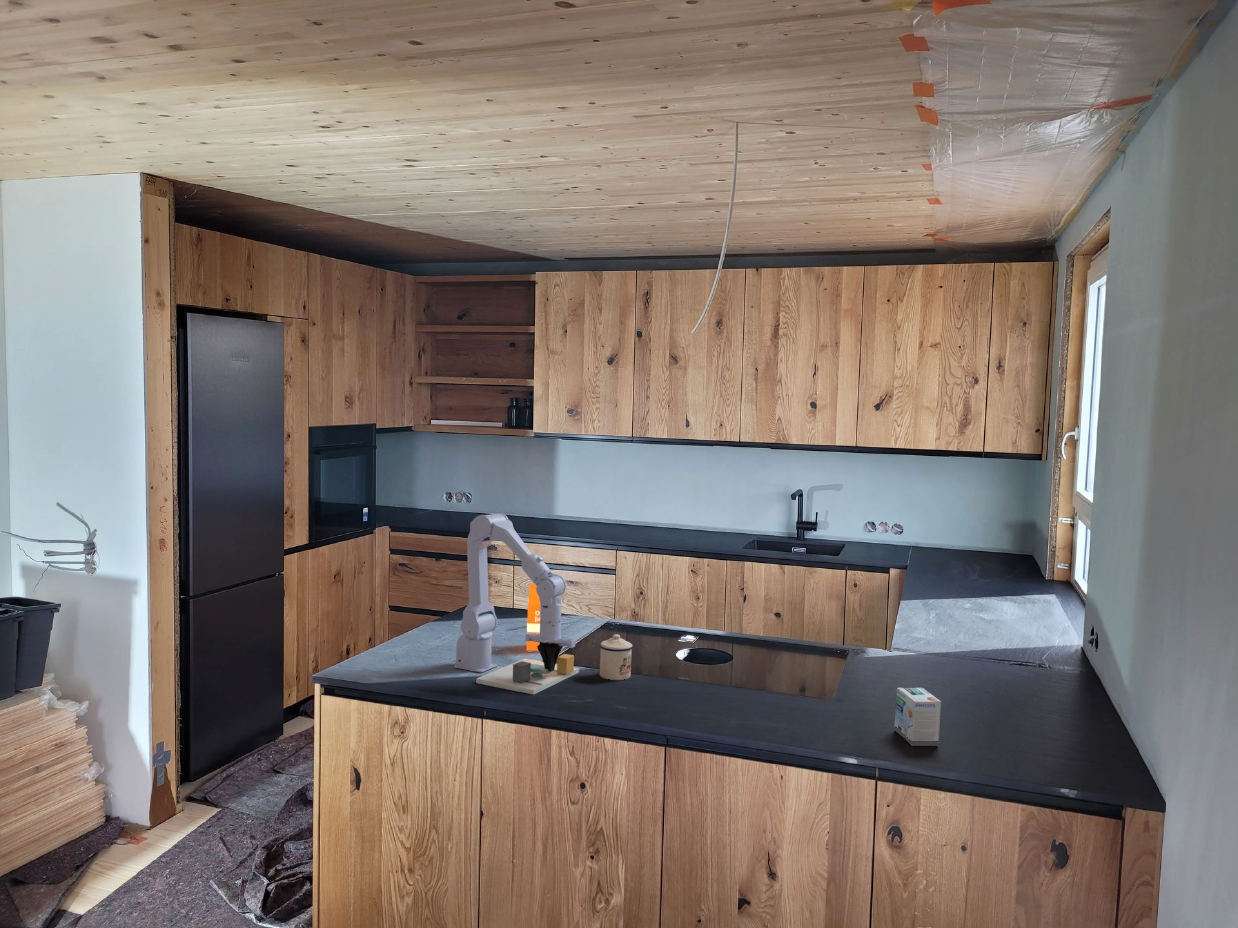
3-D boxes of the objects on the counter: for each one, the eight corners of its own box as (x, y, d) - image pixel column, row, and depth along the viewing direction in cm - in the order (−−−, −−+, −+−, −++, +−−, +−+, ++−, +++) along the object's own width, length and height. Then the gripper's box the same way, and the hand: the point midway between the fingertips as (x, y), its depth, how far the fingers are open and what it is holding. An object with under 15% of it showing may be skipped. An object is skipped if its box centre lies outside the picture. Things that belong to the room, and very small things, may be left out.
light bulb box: (893, 730, 220) (895, 686, 219) (920, 731, 220) (923, 686, 220) (911, 747, 209) (913, 700, 208) (939, 747, 210) (942, 701, 209)
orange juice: (555, 652, 279) (557, 587, 277) (526, 651, 279) (528, 586, 277) (557, 645, 286) (559, 582, 285) (529, 644, 286) (531, 581, 285)
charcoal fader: (512, 680, 243) (513, 664, 243) (520, 677, 247) (521, 661, 247) (522, 682, 242) (522, 666, 242) (530, 678, 246) (530, 662, 245)
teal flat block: (520, 670, 250) (520, 666, 250) (529, 666, 254) (529, 662, 253) (546, 674, 246) (546, 670, 246) (554, 670, 250) (554, 666, 250)
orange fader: (556, 672, 252) (557, 656, 252) (564, 669, 256) (564, 653, 256) (566, 674, 251) (566, 658, 251) (573, 671, 255) (574, 655, 254)
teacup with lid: (624, 682, 250) (626, 640, 250) (593, 677, 254) (595, 636, 253) (639, 671, 261) (641, 631, 261) (609, 667, 265) (611, 627, 264)
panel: (476, 682, 245) (476, 675, 245) (524, 662, 266) (525, 655, 266) (533, 694, 237) (533, 686, 237) (578, 672, 258) (579, 664, 258)
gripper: (519, 620, 247) (518, 670, 248) (566, 626, 241) (565, 677, 241) (533, 615, 253) (532, 663, 254) (579, 621, 247) (578, 671, 248)
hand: (549, 670), depth 248 cm, fingers closed, pressing on teal flat block
